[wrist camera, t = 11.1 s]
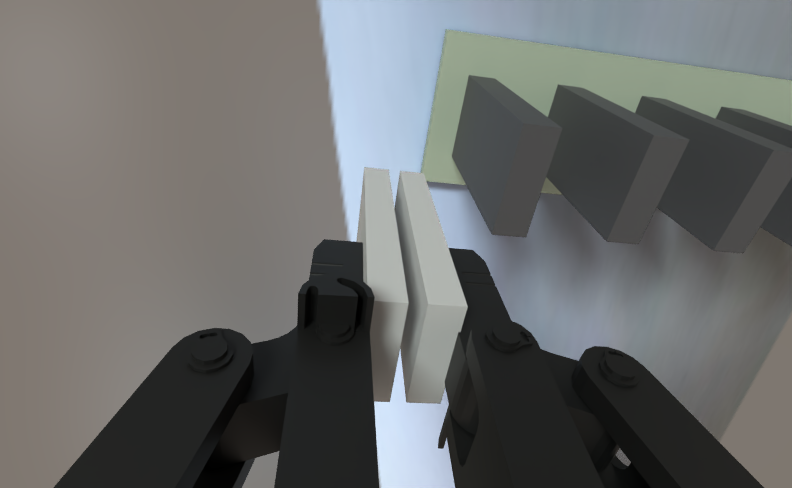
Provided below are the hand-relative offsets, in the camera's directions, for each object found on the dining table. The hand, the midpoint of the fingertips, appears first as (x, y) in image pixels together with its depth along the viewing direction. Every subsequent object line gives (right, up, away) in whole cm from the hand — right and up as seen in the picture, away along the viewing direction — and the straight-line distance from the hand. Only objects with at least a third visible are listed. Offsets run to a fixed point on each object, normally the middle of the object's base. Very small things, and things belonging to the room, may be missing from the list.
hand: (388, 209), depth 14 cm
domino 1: (+5, +7, +13) cm, 15 cm away
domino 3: (+16, +6, +14) cm, 22 cm away
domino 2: (+10, +6, +13) cm, 18 cm away
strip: (+16, +6, +15) cm, 22 cm away
